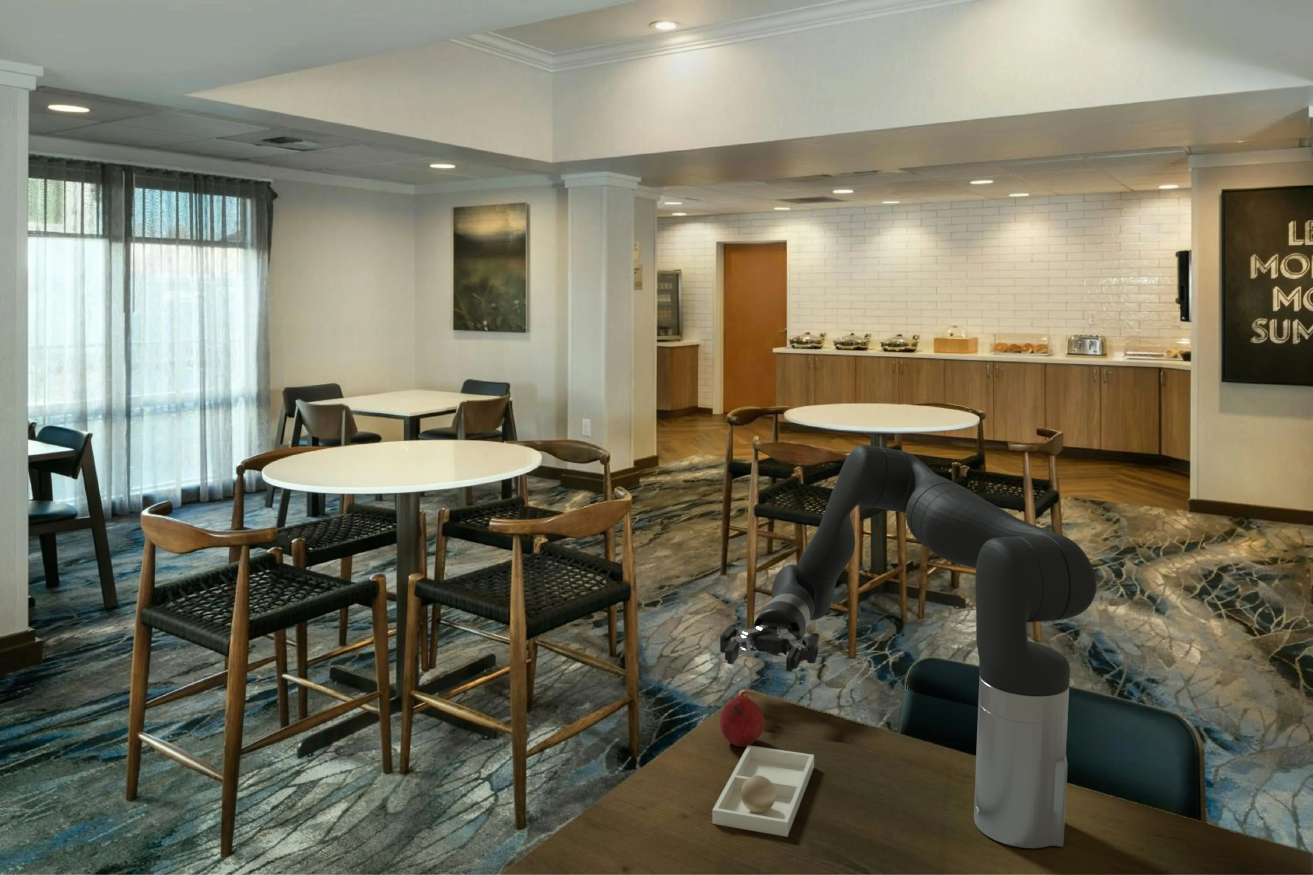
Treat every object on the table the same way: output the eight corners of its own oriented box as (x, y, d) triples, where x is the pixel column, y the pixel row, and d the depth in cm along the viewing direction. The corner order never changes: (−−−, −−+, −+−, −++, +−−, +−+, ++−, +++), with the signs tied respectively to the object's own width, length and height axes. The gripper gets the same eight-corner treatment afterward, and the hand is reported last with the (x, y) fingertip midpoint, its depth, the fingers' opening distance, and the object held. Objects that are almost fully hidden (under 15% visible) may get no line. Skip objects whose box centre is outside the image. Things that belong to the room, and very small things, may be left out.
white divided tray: (813, 772, 120) (814, 754, 119) (787, 842, 104) (787, 822, 104) (747, 762, 122) (747, 745, 122) (712, 829, 107) (712, 809, 107)
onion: (748, 762, 122) (748, 703, 121) (711, 750, 126) (711, 692, 125) (771, 745, 127) (772, 688, 126) (735, 734, 130) (735, 678, 129)
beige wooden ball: (779, 804, 111) (779, 771, 110) (771, 822, 107) (771, 788, 106) (745, 798, 112) (745, 766, 111) (737, 816, 108) (736, 783, 108)
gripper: (739, 596, 152) (710, 630, 137) (828, 605, 147) (809, 641, 132) (738, 640, 153) (710, 680, 138) (827, 651, 148) (808, 692, 133)
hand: (759, 661), depth 135 cm, fingers open, 8 cm apart
